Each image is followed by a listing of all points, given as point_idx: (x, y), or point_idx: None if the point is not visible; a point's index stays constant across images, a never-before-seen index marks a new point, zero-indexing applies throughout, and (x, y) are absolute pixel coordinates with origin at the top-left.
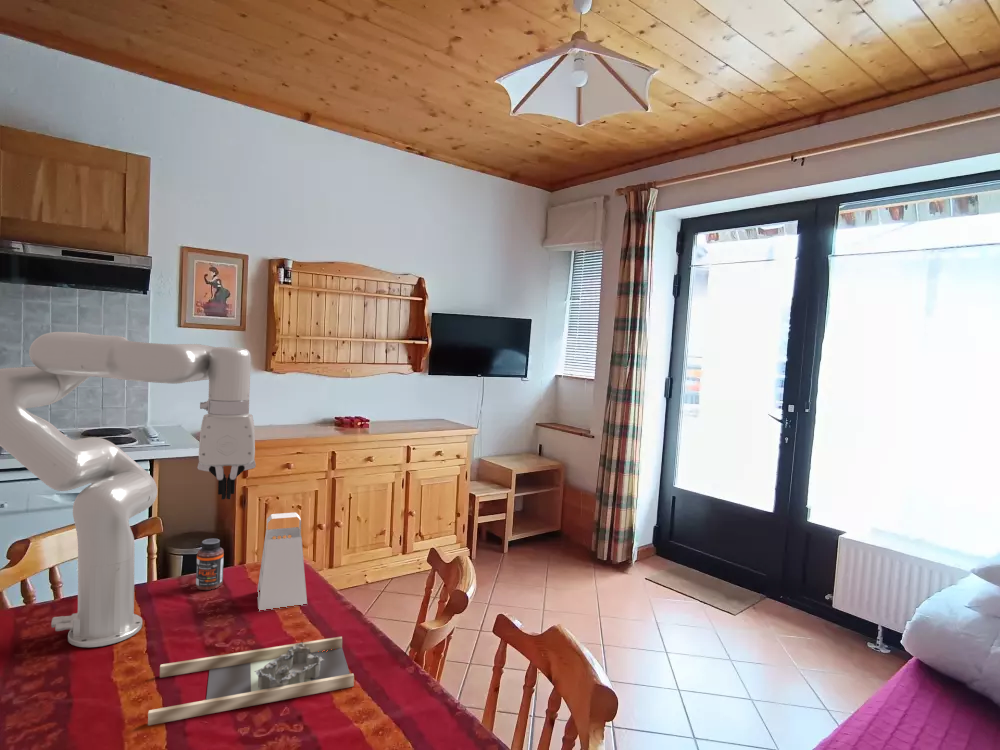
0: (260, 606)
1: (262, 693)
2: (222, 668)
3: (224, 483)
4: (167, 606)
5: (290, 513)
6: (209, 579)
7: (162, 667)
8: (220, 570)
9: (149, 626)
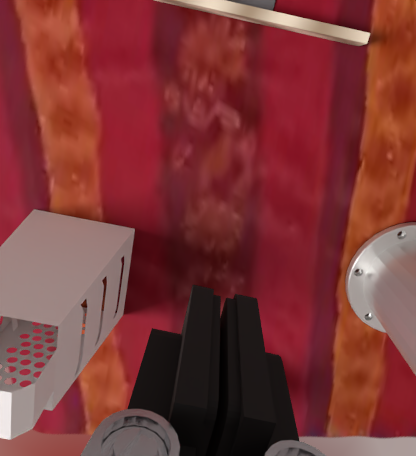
0: (128, 232)
1: None
2: (248, 2)
3: (245, 385)
4: (289, 331)
5: None
6: None
7: (364, 33)
8: None
9: (334, 265)
